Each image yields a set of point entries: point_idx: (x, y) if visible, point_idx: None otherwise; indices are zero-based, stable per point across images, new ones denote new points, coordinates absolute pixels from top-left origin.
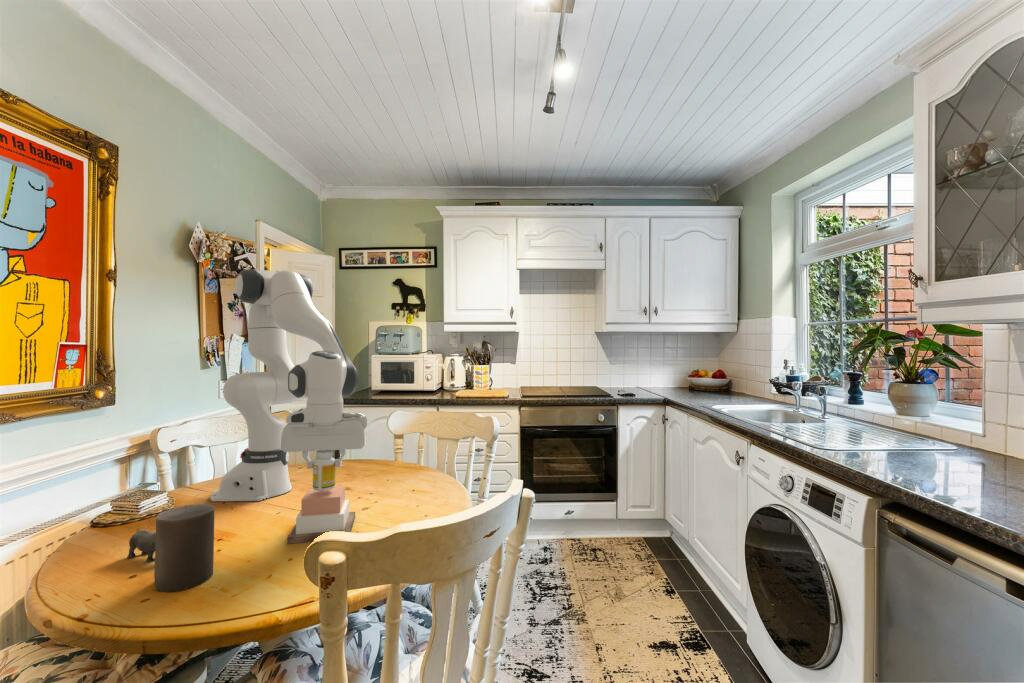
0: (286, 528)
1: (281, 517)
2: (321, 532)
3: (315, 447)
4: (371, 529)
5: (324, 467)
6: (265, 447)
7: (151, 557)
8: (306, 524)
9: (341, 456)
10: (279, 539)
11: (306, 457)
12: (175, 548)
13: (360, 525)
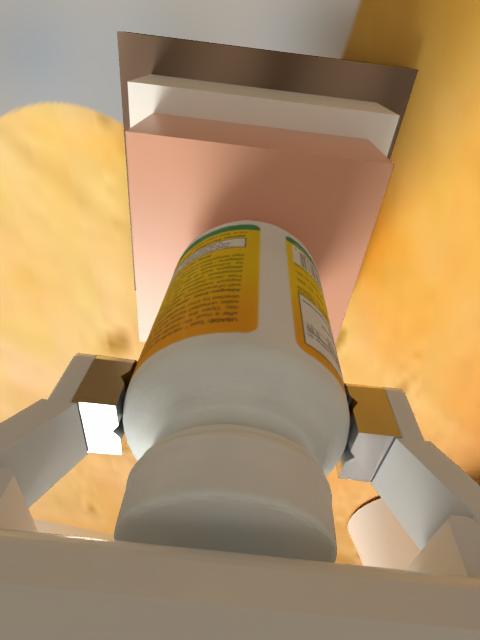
0: (391, 253)
1: (396, 354)
2: (257, 81)
3: (383, 636)
4: (42, 117)
5: (228, 319)
6: None
7: None
8: (334, 101)
9: (10, 433)
10: (432, 141)
11: (450, 489)
12: None
13: (103, 185)
